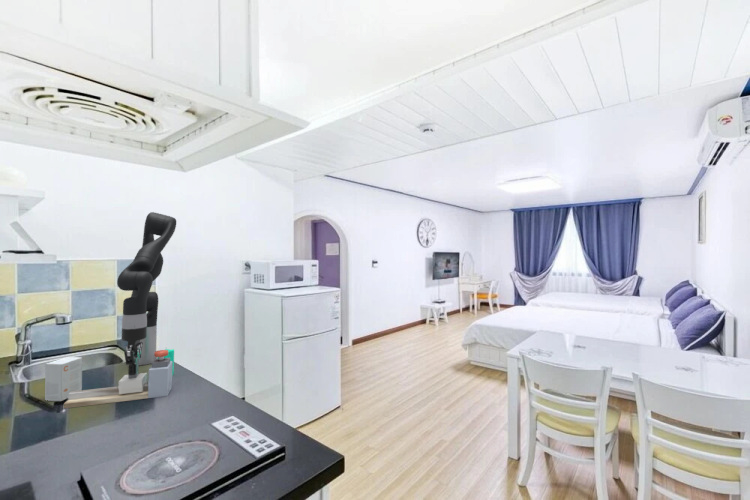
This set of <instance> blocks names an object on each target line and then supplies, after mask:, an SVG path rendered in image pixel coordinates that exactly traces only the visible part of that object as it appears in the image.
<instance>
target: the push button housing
mask: <svg viewBox="0 0 750 500" xmlns="http://www.w3.org/2000/svg"><path fill="white" fill-rule="evenodd" d="M147 382H148V398H147V399H152V398H153V399H154V398H162V397H167V396H168V395H169V393H170V392H171V390H172V388H173V376H172V361H170V358H164V361H159V359H158V358H156V359H154V361H153V362H152V363H151V367H150V368H149V369H148V379H147Z"/></svg>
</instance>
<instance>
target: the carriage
mask: <svg viewBox="0 0 750 500" xmlns="http://www.w3.org/2000/svg"><path fill="white" fill-rule="evenodd" d="M138 359H139V356H138V357H137V363H136V374H135V375H128V374H124V375H123V377H121V379H119V380H118V386H117V387H118V390H119V394H126V393H135V392H142V391H143V385H144V384H146V383H147V382H148V372H140V373H139V367H138ZM130 361H132V360H130Z"/></svg>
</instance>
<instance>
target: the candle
mask: <svg viewBox="0 0 750 500" xmlns="http://www.w3.org/2000/svg"><path fill="white" fill-rule="evenodd" d="M164 350H168V355H167V356H164V358H170V361H172V377H173V376H174V375H175V374H174V373H175V372H174V371H175V370H174V369H175V349H174V348H173V349H170V348H169V349H168V348H165V349H164ZM157 359H159V357H157Z"/></svg>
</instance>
